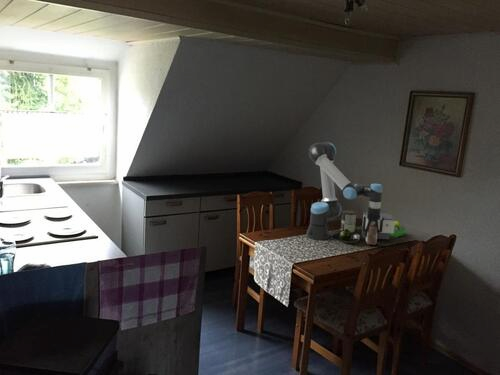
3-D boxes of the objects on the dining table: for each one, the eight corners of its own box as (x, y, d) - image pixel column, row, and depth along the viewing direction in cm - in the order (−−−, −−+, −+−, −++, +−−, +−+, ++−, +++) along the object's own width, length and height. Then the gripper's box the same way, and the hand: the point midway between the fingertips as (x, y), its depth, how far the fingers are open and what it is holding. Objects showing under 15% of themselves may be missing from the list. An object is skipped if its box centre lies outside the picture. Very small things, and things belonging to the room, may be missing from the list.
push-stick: (367, 244, 276) (369, 226, 273) (363, 237, 290) (364, 220, 288) (375, 244, 275) (377, 227, 273) (370, 237, 290) (372, 220, 288)
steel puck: (353, 240, 287) (354, 236, 286) (352, 238, 291) (353, 234, 291) (360, 240, 287) (360, 236, 286) (359, 238, 291) (359, 234, 290)
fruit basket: (396, 237, 297) (398, 222, 295) (385, 234, 304) (387, 219, 302) (405, 235, 303) (407, 220, 301) (395, 232, 310) (397, 217, 308)
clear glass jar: (337, 229, 309) (339, 211, 307) (345, 227, 316) (347, 209, 314) (349, 233, 302) (351, 214, 299) (357, 230, 309) (359, 212, 306)
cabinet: (365, 242, 284) (367, 218, 281) (360, 234, 299) (363, 212, 296) (393, 243, 283) (396, 219, 280) (387, 236, 298) (389, 213, 295)
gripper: (361, 208, 270) (358, 242, 275) (390, 209, 269) (386, 244, 274) (359, 205, 277) (356, 238, 282) (387, 206, 276) (383, 240, 281)
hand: (371, 241), depth 278 cm, fingers closed on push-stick, 5 cm apart
